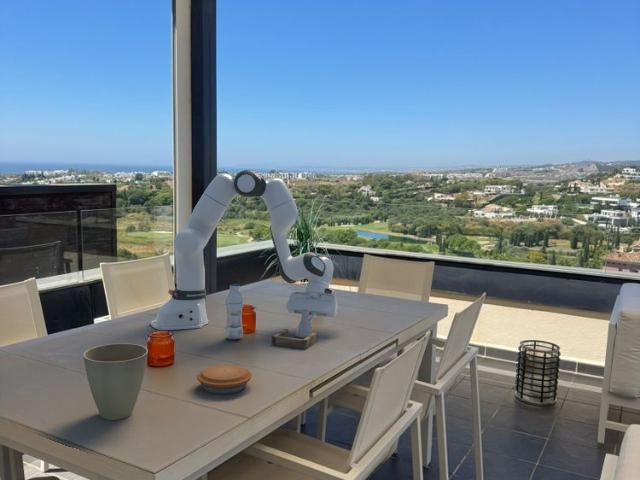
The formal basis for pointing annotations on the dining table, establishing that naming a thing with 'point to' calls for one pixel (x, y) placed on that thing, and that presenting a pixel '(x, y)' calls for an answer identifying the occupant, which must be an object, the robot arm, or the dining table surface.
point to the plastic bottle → (234, 313)
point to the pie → (224, 379)
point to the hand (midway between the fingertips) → (307, 323)
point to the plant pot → (115, 377)
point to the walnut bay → (293, 340)
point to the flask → (304, 325)
